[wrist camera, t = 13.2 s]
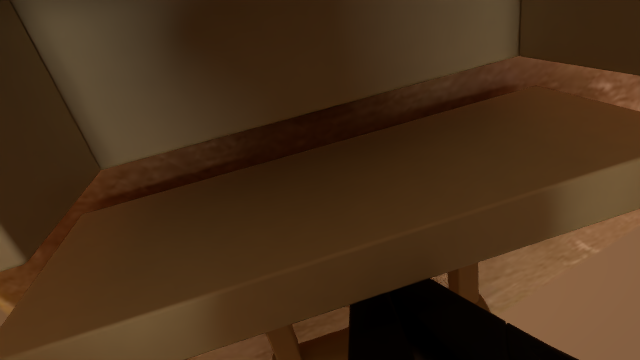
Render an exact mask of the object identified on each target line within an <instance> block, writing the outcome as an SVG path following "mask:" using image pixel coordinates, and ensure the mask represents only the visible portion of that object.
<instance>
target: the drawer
mask: <svg viewBox="0 0 640 360" xmlns="http://www.w3.org/2000/svg"><path fill="white" fill-rule="evenodd" d="M517 56H522V57H528V58H535V59H541V60H547V61H553V62H559V63H565V64H571V65H578V66H584V67H590V68H596V69H602V70H608V71H615V72H621V73H627V74H633V75H639V76H640V0H0V271H4V270H7V269H10V268H14V267H17V266H21V265H23V264H25V263H26V262H27V261H28V260H29V259H30V258H31V256H32V255H33V254H34V253H35V251H36V250H37V249H38V248H39V246H40V245H41V244H42V243H43V241H44V240H45V239H46V238H47V236H48V235H49V234H50V233H51V232H52V230H53V229H54V228H55V227H56V225H57V224H58V223H59V222H60V220H61V219H62V218H63V217H64V215H65V214H66V213H67V212H68V210H69V209H70V208H71V207H72V205H73V204H74V203H75V202H76V200H77V199H78V198H79V197H80V196H81V194H82V193H83V192H84V191H85V189H86V188H87V187H88V186H89V184H90V183H91V182H92V181H93V179H94V178H95V177H96V176H97V174H98V173H99V172H100V170H103V169H107V168H110V167H114V166H118V165H121V164H125V163H129V162H132V161H136V160H140V159H143V158H147V157H151V156H154V155H158V154H162V153H165V152H169V151H173V150H176V149H180V148H184V147H187V146H191V145H195V144H198V143H202V142H206V141H209V140H213V139H217V138H220V137H224V136H228V135H231V134H235V133H239V132H242V131H246V130H249V129H253V128H257V127H260V126H264V125H268V124H271V123H275V122H279V121H282V120H286V119H290V118H293V117H297V116H301V115H304V114H308V113H312V112H315V111H319V110H323V109H326V108H330V107H334V106H337V105H341V104H345V103H348V102H352V101H356V100H359V99H363V98H367V97H370V96H374V95H378V94H381V93H385V92H389V91H392V90H396V89H400V88H403V87H407V86H411V85H414V84H418V83H421V82H425V81H429V80H432V79H436V78H440V77H443V76H447V75H451V74H454V73H458V72H462V71H465V70H469V69H473V68H476V67H480V66H484V65H487V64H491V63H495V62H498V61H502V60H506V59H509V58H513V57H517ZM637 209H640V112H639V111H635V110H631V109H627V108H623V107H619V106H615V105H611V104H607V103H603V102H599V101H595V100H591V99H587V98H583V97H579V96H575V95H571V94H567V93H563V92H559V91H555V90H551V89H547V88H543V87H539V86H533V87H530V88H526V89H522V90H519V91H515V92H512V93H508V94H505V95H501V96H498V97H494V98H491V99H487V100H484V101H480V102H477V103H473V104H470V105H466V106H463V107H459V108H455V109H452V110H448V111H445V112H441V113H438V114H434V115H431V116H427V117H424V118H420V119H417V120H413V121H410V122H406V123H403V124H399V125H396V126H392V127H389V128H385V129H381V130H378V131H374V132H371V133H367V134H364V135H360V136H357V137H353V138H350V139H346V140H343V141H339V142H336V143H332V144H329V145H325V146H322V147H318V148H315V149H311V150H307V151H304V152H300V153H297V154H293V155H290V156H286V157H283V158H279V159H276V160H272V161H269V162H265V163H262V164H258V165H255V166H251V167H248V168H244V169H241V170H237V171H233V172H230V173H226V174H223V175H219V176H216V177H212V178H209V179H205V180H202V181H198V182H195V183H191V184H188V185H184V186H181V187H177V188H174V189H170V190H167V191H163V192H159V193H156V194H152V195H149V196H145V197H142V198H138V199H135V200H131V201H128V202H124V203H121V204H117V205H114V206H110V207H107V208H103V209H100V210H96V211H93V212H89V213H85V214H83V215H81V217H80V218H79V219H78V221H77V222H76V223H75V225H74V226H73V228H72V229H71V230H70V232H69V233H68V235H67V236H66V237H65V239H64V240H63V241H62V243H61V244H60V246H59V247H58V248H57V250H56V251H55V253H54V254H53V255H52V257H51V258H50V259H49V261H48V262H47V264H46V265H45V266H44V268H43V269H42V270H41V272H40V273H39V275H38V276H37V277H36V279H35V280H34V282H33V283H32V284H31V286H30V287H29V288H28V290H27V291H26V293H25V294H24V295H23V297H22V298H21V299H20V301H19V302H18V304H17V305H16V306H15V308H14V309H13V311H12V312H11V313H10V315H9V316H8V317H7V319H6V320H5V322H4V323H3V324H2V326H1V327H0V360H185V359H188V358H191V357H194V356H197V355H200V354H203V353H206V352H209V351H212V350H215V349H218V348H221V347H224V346H227V345H230V344H233V343H236V342H239V341H242V340H245V339H248V338H251V337H254V336H257V335H260V334H263V333H266V335H267V337H268V340H269V342H270V345H271V347H272V350H273V352H274V353H273V355H272V360H348V340H349V327H348V328H345V329H342V330H339V331H336V332H333V333H330V334H327V335H324V336H321V337H318V338H315V339H312V340H309V341H306V342H303V343H300V344H299V343H298V341H297V338H296V335H295V332H294V329H293V326H292V324H293V323H296V322H299V321H302V320H305V319H308V318H311V317H314V316H317V315H320V314H323V313H326V312H329V311H332V310H335V309H338V308H341V307H344V306H347V305H350V304H354V303H357V302H360V301H363V300H366V299H369V298H372V297H375V296H378V295H381V294H384V293H387V292H390V291H393V290H396V289H399V288H402V287H405V286H408V285H411V284H414V283H417V282H420V281H423V280H426V279H429V278H432V277H435V276H438V275H441V274H444V273H447V272H448V284H449V289H450V290H451V291H453V292H455V293H457V294H458V295H460V296H462V297H464V298H465V299H467V300H469V301H471V302H472V303H474V304H476V305H478V306H480V307H481V308H483V309H485V310H487V311H488V312H490V310H489V308H488V306H487V304H486V302H485V301H484V299H483V298H482V296H481V295H480V294H479V289H478V262H480V261H483V260H486V259H489V258H492V257H495V256H498V255H501V254H504V253H507V252H510V251H513V250H516V249H519V248H522V247H525V246H528V245H531V244H534V243H537V242H540V241H543V240H546V239H549V238H552V237H555V236H558V235H561V234H565V233H568V232H571V231H574V230H577V229H580V228H583V227H586V226H589V225H592V224H595V223H598V222H601V221H604V220H607V219H610V218H613V217H616V216H619V215H622V214H625V213H628V212H631V211H634V210H637ZM490 313H491V312H490Z"/></svg>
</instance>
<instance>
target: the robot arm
mask: <svg viewBox="0 0 640 360" xmlns="http://www.w3.org/2000/svg"><path fill="white" fill-rule="evenodd" d="M348 360H578V359H576V358H574V357H572V356H570V355H568V354H566V353H564V352H562V351H560V350H558V349H556V348H554V347H551V346H550V345H548V344H546V343H544V342H542V341H540V340H539V339H537V338H535V337H533V336H531V335H529V334H528V333H526V332H524V331H522V330H520V329H519V328H517V327H515V326H513V325H511V324H510V323H507V324H506V322H505V321H504V320H502V319H500V318H499V317H497V316H495V315H494V314H492V313H490V312H488V311H487V310H485V309H483V308H481V307H480V306H478V305H476V304H474V303H472V302H471V301H469V300H467V299H465V298H464V297H462V296H460V295H458V294H457V293H455V292H453V291H451V290H450V289H448V288H446V287H444V286H443V285H441V284H439V283H437V282H435V281H434V280H432V279H430V278H429V279H426V280H423V281H420V282H417V283H414V284H411V285H408V286H405V287H402V288H399V289H396V290H393V291H390V292H387V293H384V294H381V295H378V296H375V297H372V298H369V299H366V300H363V301H360V302H357V303H354V304H350V314H349V340H348Z"/></svg>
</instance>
